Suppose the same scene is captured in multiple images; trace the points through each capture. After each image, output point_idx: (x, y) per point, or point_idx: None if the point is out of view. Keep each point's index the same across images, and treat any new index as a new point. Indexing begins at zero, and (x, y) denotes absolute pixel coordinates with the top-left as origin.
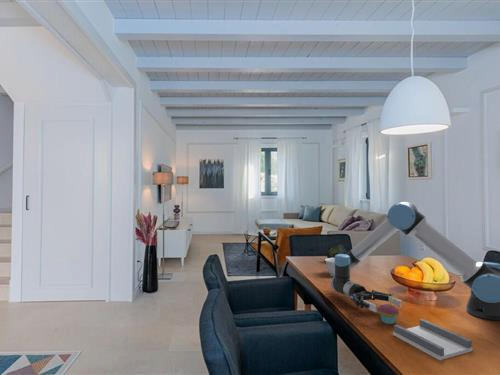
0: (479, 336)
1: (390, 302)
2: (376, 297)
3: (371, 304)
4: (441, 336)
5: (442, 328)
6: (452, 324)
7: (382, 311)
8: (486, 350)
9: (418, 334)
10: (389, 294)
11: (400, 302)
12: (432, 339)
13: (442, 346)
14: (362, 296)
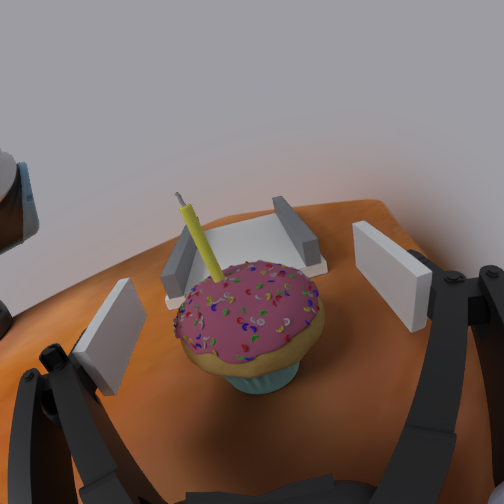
0: (110, 276)
1: (214, 255)
2: (137, 474)
3: (380, 234)
4: (198, 254)
5: (181, 241)
6: (76, 318)
7: (308, 278)
8: (167, 244)
9: (250, 256)
10: (27, 389)
11: (130, 287)
12: (237, 243)
13: (245, 229)
14: (427, 404)
